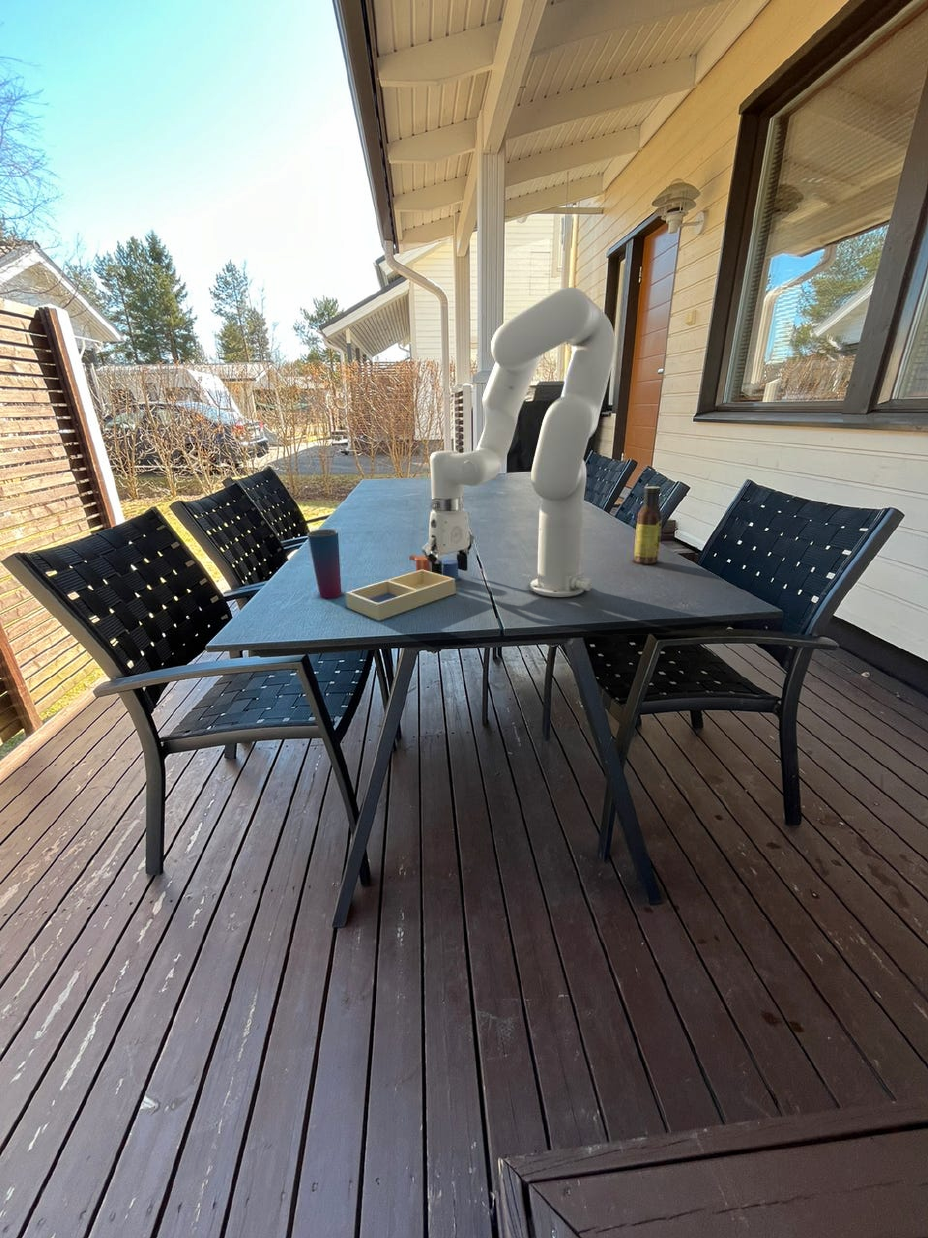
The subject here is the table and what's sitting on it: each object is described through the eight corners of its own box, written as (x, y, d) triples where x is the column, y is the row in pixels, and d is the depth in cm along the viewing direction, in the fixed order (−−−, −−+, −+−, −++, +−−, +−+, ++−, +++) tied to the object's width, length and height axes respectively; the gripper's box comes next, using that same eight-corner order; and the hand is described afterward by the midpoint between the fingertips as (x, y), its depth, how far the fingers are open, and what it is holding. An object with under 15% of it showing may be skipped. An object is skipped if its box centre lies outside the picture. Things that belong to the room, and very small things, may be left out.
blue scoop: (461, 578, 133) (461, 561, 132) (450, 582, 131) (449, 564, 129) (443, 573, 138) (442, 556, 136) (432, 576, 135) (431, 560, 134)
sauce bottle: (660, 564, 140) (670, 488, 132) (637, 565, 140) (645, 489, 133) (653, 558, 146) (661, 485, 138) (630, 558, 146) (637, 485, 139)
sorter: (455, 593, 123) (455, 578, 122) (378, 620, 109) (377, 604, 107) (423, 583, 131) (422, 569, 129) (347, 607, 116) (345, 592, 115)
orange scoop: (434, 574, 137) (433, 557, 136) (423, 577, 135) (422, 560, 133) (417, 569, 142) (416, 553, 140) (406, 572, 139) (405, 556, 137)
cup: (338, 600, 121) (330, 536, 115) (310, 599, 122) (301, 535, 116) (349, 590, 127) (342, 529, 121) (323, 589, 128) (315, 528, 122)
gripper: (431, 512, 118) (434, 585, 125) (483, 501, 129) (484, 568, 136) (409, 508, 123) (414, 578, 130) (462, 498, 134) (463, 563, 141)
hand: (449, 573), depth 133 cm, fingers open, 8 cm apart
